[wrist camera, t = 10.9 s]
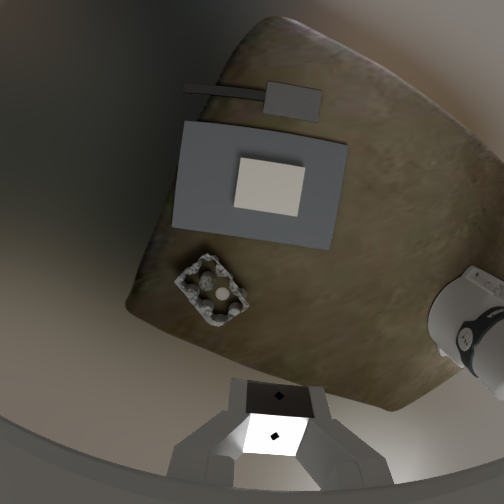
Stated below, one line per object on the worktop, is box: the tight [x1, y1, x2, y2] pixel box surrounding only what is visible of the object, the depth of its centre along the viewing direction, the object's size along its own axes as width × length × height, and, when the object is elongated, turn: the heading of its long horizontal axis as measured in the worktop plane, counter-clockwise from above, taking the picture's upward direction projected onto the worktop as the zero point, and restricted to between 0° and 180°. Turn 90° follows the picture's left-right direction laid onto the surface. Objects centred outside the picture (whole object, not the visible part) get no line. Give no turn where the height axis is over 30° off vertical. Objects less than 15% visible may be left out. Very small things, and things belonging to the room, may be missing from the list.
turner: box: [183, 82, 322, 123], centre depth 42 cm, size 20×5×1 cm, turn 82°
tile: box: [234, 158, 305, 217], centre depth 45 cm, size 2×7×9 cm
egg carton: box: [175, 253, 251, 326], centre depth 49 cm, size 11×8×4 cm
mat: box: [172, 121, 348, 250], centre depth 46 cm, size 24×16×1 cm, turn 82°
